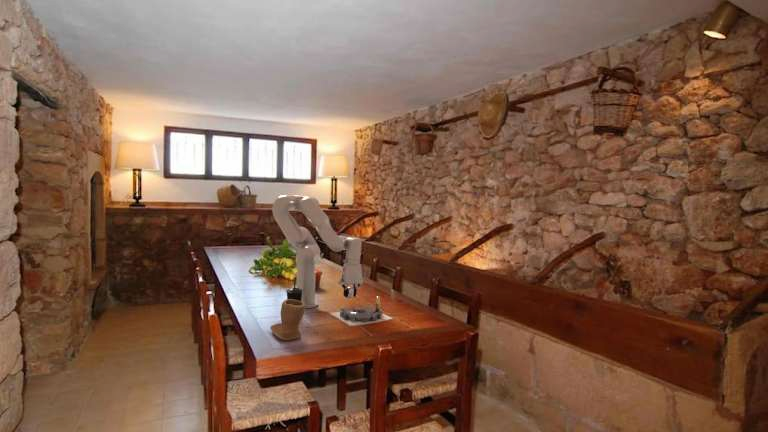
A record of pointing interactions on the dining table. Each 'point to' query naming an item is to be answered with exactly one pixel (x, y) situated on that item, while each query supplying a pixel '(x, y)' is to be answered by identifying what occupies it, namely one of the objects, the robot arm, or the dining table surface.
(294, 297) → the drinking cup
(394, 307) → the dining table surface
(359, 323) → the board
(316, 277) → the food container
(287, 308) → the brown boot
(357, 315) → the sprocket
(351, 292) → the roller
